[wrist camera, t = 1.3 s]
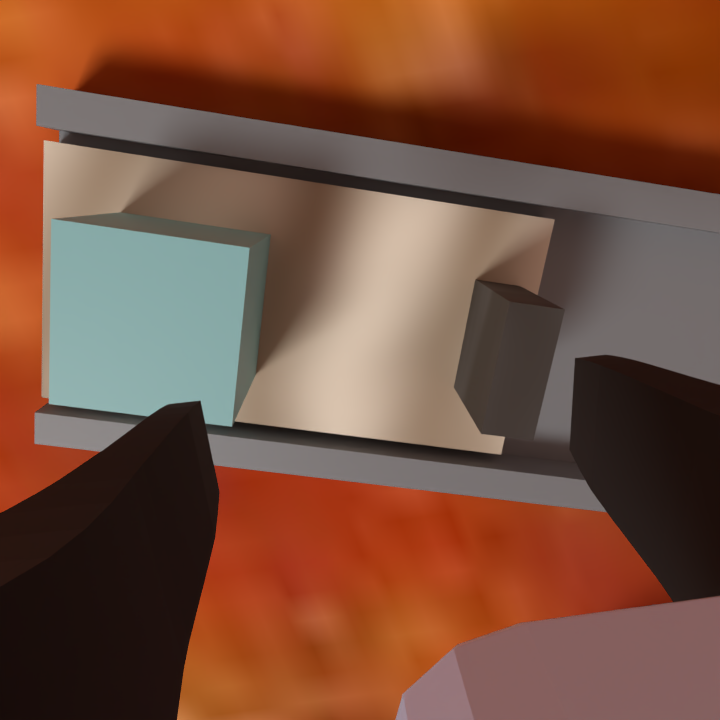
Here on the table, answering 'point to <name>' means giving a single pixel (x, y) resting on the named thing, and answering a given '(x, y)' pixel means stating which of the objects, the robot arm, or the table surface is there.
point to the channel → (463, 187)
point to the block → (154, 314)
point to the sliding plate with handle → (355, 297)
